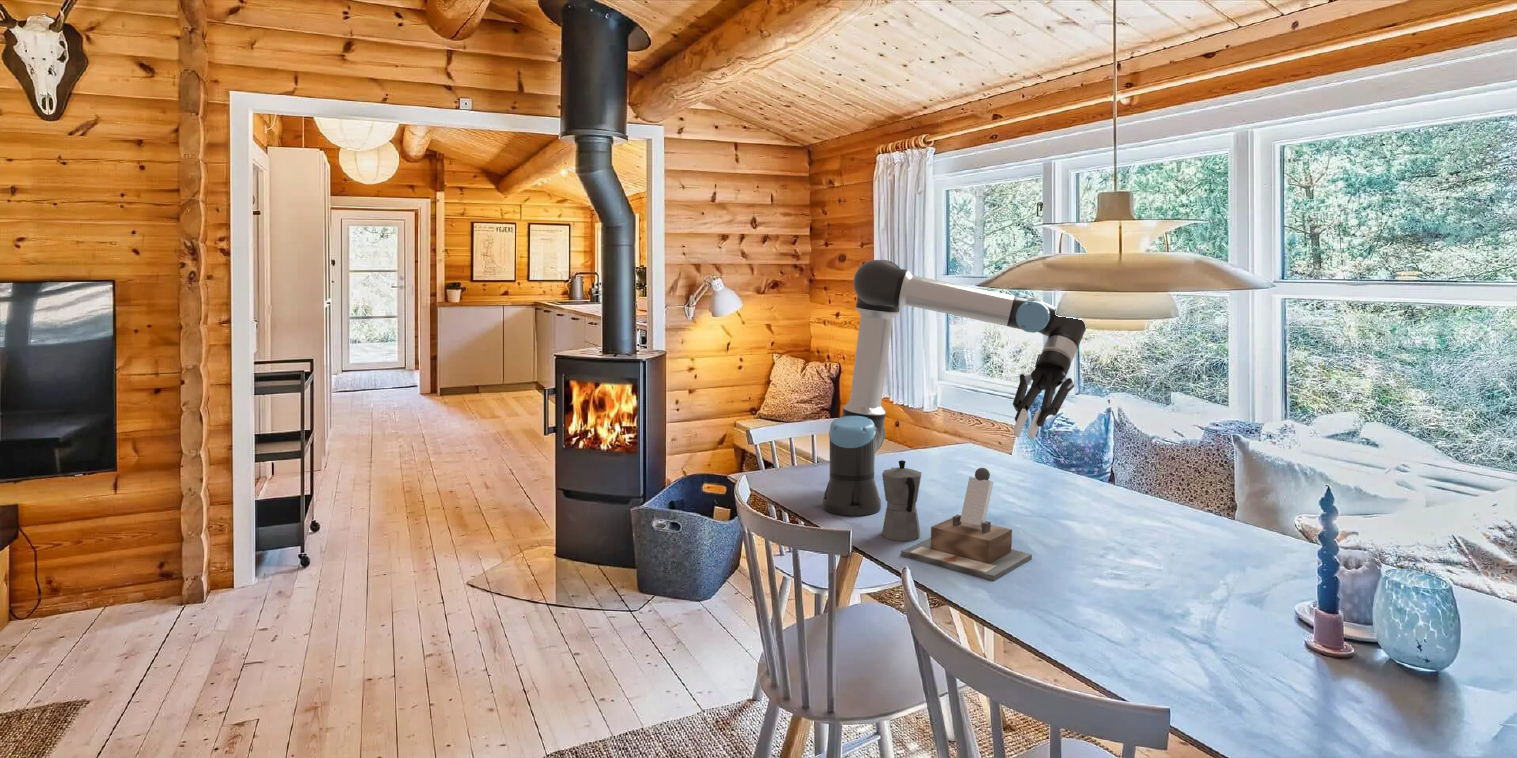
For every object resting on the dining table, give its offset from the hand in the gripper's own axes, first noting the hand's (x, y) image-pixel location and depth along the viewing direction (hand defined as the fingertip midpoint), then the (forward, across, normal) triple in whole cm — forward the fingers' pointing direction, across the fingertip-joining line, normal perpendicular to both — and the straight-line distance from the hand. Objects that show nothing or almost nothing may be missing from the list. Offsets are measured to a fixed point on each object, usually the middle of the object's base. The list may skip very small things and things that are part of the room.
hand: (1023, 434), depth 195 cm
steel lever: (+29, 0, +5) cm, 29 cm away
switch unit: (+34, 0, +2) cm, 34 cm away
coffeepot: (+33, +18, 0) cm, 37 cm away
